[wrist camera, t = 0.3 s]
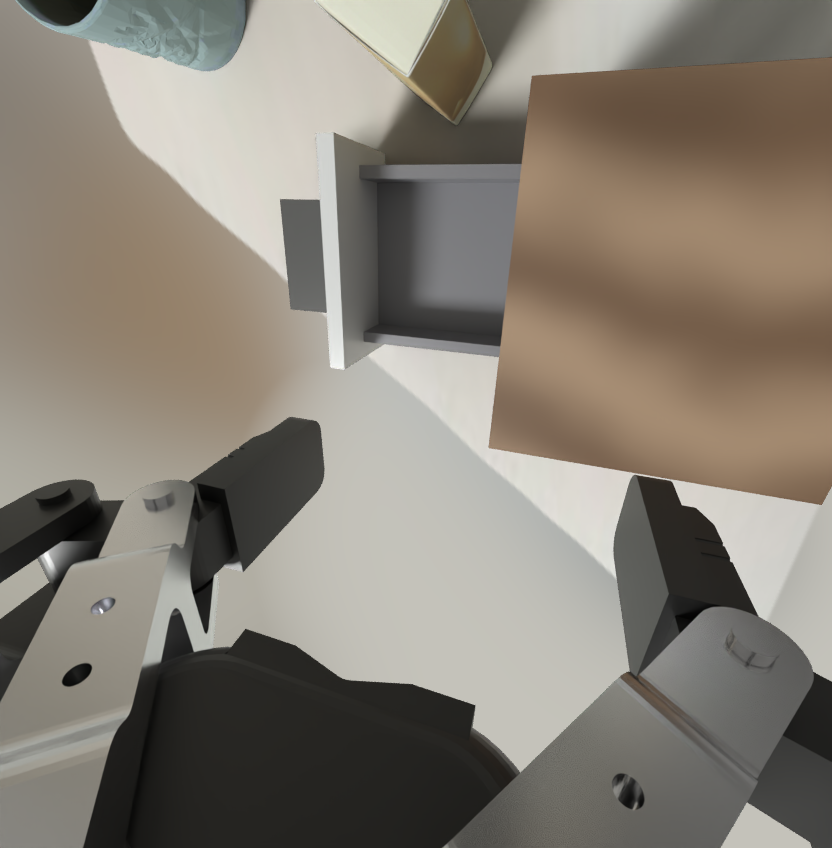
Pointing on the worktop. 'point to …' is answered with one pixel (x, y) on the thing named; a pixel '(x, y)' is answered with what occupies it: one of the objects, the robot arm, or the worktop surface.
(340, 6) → the skincare box
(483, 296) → the drawer
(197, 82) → the worktop surface
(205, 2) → the teal planter pot
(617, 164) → the wood grain block
